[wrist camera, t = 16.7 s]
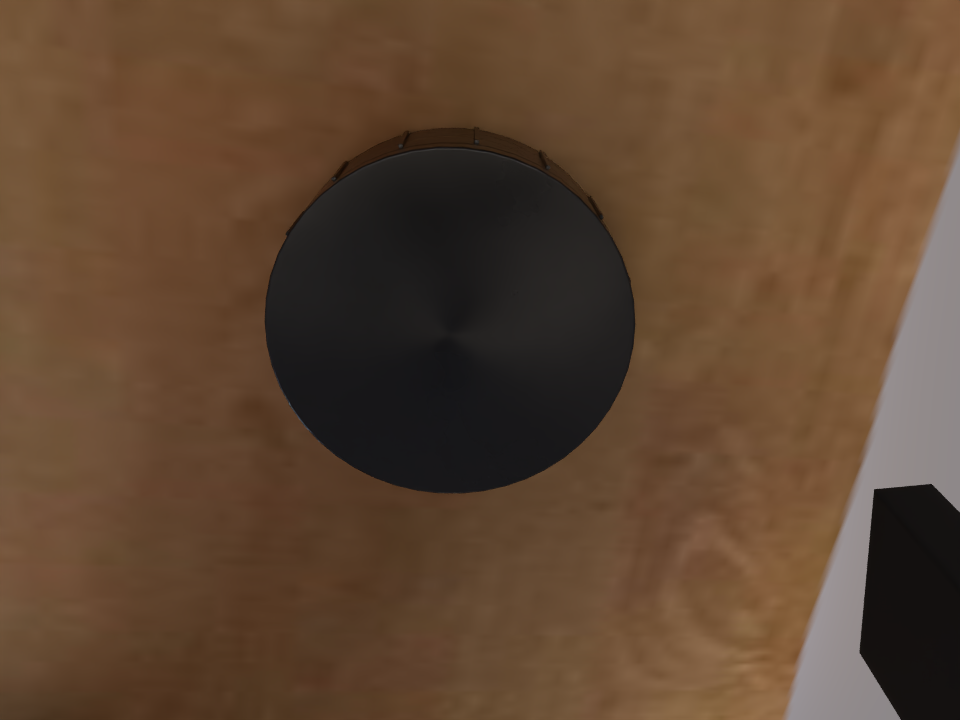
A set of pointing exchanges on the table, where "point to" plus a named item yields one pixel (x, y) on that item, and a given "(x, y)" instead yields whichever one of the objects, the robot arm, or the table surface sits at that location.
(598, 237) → the lid
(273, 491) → the table surface
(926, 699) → the robot arm
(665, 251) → the table surface
